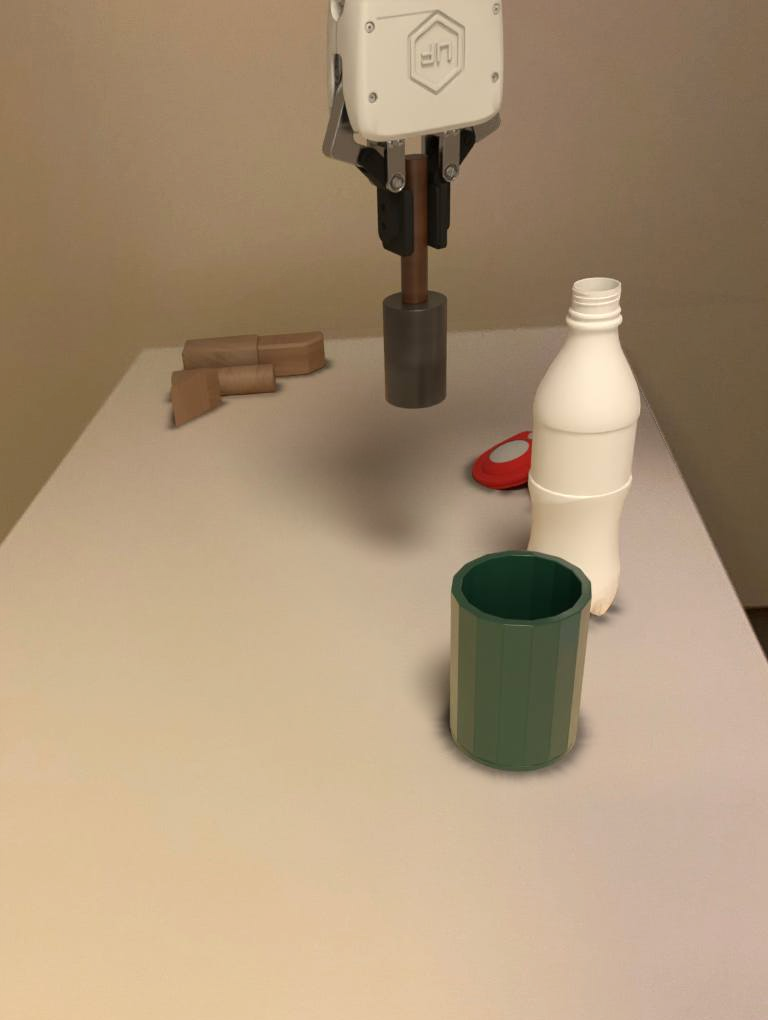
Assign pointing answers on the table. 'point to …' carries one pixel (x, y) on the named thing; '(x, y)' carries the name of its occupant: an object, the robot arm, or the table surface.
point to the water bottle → (585, 442)
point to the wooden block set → (239, 368)
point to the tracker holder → (505, 462)
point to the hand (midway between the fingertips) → (414, 246)
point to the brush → (415, 314)
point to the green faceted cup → (517, 658)
